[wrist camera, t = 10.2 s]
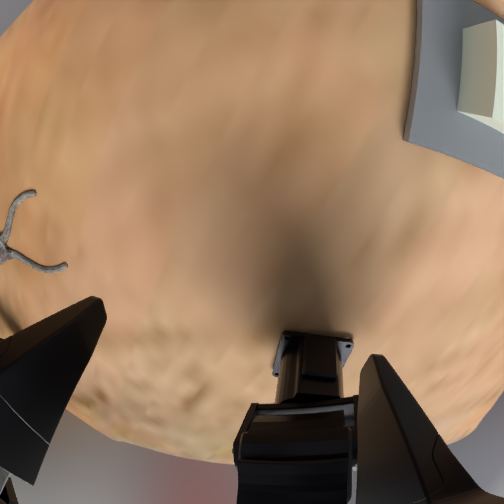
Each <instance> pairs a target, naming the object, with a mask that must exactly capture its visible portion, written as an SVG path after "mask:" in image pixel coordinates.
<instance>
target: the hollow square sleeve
mask: <svg viewBox="0 0 504 504" xmlns="http://www.w3.org/2000/svg"><path fill="white" fill-rule="evenodd" d="M457 111H458V112H460V113H463V114H465V115H467V116H469V117H471V118H474V119H476V120H478V121H480V122H482V123H484V124H486V125H488V126H490V127H492V128H494V129H496V130H498V131H500V132H501V133H503V134H504V24H502V23H501V22H499V21H497V20H492V21H488V22H485V23H481V24H478V25H474V26H471V27H468V28H464V29H463V45H462V67H461V80H460V90H459V99H458V107H457Z"/></svg>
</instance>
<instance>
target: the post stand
mask: <svg viewBox="0 0 504 504" xmlns="http://www.w3.org/2000/svg"><path fill="white" fill-rule="evenodd" d="M492 20H497V21H499V22H501V23H502V24H504V20H502V19H501V18H499V17H498V16H496V15H495V14H493V13H492V12H490V11H489V10H487V9H485V8H484V7H482V6H480V5H479V4H477V3H475V2H474V1H472V0H417V26H416V45H415V58H414V69H413V78H412V86H411V94H410V101H409V108H408V114H407V120H406V126H405V131H404V137H403V140H404V141H406V142H409V143H412V144H415V145H419V146H422V147H425V148H428V149H431V150H434V151H437V152H440V153H443V154H445V155H448V156H451V157H454V158H456V159H459V160H461V161H464V162H467V163H469V164H472V165H474V166H476V167H479V168H481V169H483V170H486V171H488V172H490V173H493V174H495V175H497V176H499V177H501V178H503V179H504V134H503V133H501V132H500V131H498V130H496V129H494V128H492V127H490V126H488V125H486V124H484V123H482V122H480V121H478V120H476V119H474V118H471V117H469V116H467V115H465V114H463V113H460V112H458V111H457V107H458V99H459V90H460V80H461V67H462V45H463V29H464V28H468V27H471V26H474V25H478V24H481V23H485V22H488V21H492Z"/></svg>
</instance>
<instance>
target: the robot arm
mask: <svg viewBox="0 0 504 504" xmlns="http://www.w3.org/2000/svg"><path fill="white" fill-rule="evenodd" d="M106 320H107V315H106V311H105V307H104V304H103V301H102V299H101V298H98V297H95V296H90V297H88V298H86V299H84V300H81V301H79V302H77V303H75V304H73V305H71V306H69V307H67V308H65V309H63V310H61V311H59V312H57V313H55V314H53V315H51V316H49V317H47V318H45V319H43V320H41V321H39V322H37V323H35V324H33V325H31V326H29V327H27V328H25V329H23V330H21V331H20V332H18V333H16V334H14V335H13V336H10V337H8V338H6V339H4V340H2V341H0V504H18V501H17V498H16V494H15V491H14V488H13V485H12V481H11V478H10V477H9V475H10V473H11V474H13V475H14V476H16V477H18V478H20V479H21V480H23V481H25V482H27V483H28V484H30V485H32V486H33V485H34V483H35V481H36V478H37V475H38V472H39V470H40V467H41V465H42V462H43V459H44V457H45V454H46V452H47V450H48V447H49V444H50V442H51V440H52V437H53V435H54V433H55V430H56V428H57V426H58V423H59V421H60V419H61V417H62V415H63V412H64V410H65V408H66V406H67V404H68V402H69V400H70V398H71V396H72V394H73V392H74V390H75V388H76V386H77V384H78V382H79V380H80V378H81V376H82V374H83V372H84V370H85V368H86V366H87V364H88V362H89V360H90V358H91V356H92V354H93V352H94V349H95V347H96V345H97V342H98V340H99V337H100V335H101V333H102V330H103V328H104V326H105V323H106ZM286 336H289V337H286ZM348 344H349V345H348ZM353 347H354V343H353V340H351V339H344V338H335V337H327V336H320V335H312V334H305V333H298V332H292V331H284V332H283V333H282V336H281V340H280V344H279V348H278V352H277V356H276V360H275V364H274V368H273V373H272V375H273V376H275V377H278V384H277V391H276V398H275V404H259V403H251V406H250V408H249V410H248V411H247V414H246V416H245V418H244V421H243V423H242V425H241V427H240V430H239V432H238V434H237V436H236V439H235V441H234V443H233V449H232V453H233V454H234V463H235V467H236V469H237V470H238V495H237V504H347V503H348V502H349V501H350V499H351V494H352V493H351V492H352V471H357V490H356V504H504V498H503V497H499V496H496V495H493V494H490V493H488V492H485V491H484V490H483V489H481V488H480V487H479V486H478V485H477V484H476V482H475V481H474V480H473V479H472V477H471V476H470V475H469V474H468V472H467V471H466V470H465V469H464V467H463V466H462V465H461V464H460V462H459V461H458V460H457V459H456V457H455V456H454V455H453V453H452V452H451V451H450V449H449V448H448V446H447V445H446V443H445V442H444V440H443V439H442V437H441V436H440V434H438V432H437V430H436V429H435V427H434V426H433V424H432V423H431V421H430V420H429V418H428V417H427V415H426V414H425V412H424V411H423V410H422V408H421V407H420V405H419V404H418V402H417V401H416V400H415V398H414V397H413V395H412V394H411V392H410V391H409V390H408V388H407V387H406V385H405V384H404V383H403V381H402V380H401V378H400V377H399V376H398V374H397V373H396V372H395V370H394V369H393V367H392V366H391V365H390V363H389V362H388V361H387V359H386V358H385V357H384V356H383V355H379V354H372V355H370V356H369V358H368V360H367V361H366V363H365V365H364V366H363V368H362V370H361V373H360V385H359V395H353V397H346V398H344V395H343V374H342V368H343V367H344V365H345V363H346V361H347V359H348V357H349V355H350V353H351V351H352V349H353Z"/></svg>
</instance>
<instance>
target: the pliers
mask: <svg viewBox="0 0 504 504" xmlns="http://www.w3.org/2000/svg"><path fill="white" fill-rule="evenodd" d="M36 194H37V192H36V191H28V192H25V193H23V194H21V195H20V196H19V197H17V198H16V199H15V200H14V202H13V203H12V205H11V207H10V210H9V213H8V217H7V221H6V225H5V229H4V231H3V233H2V234H1V235H0V264H3V263H4V262H5V261H6V260H9V259H18V260H20V261H22V262H23V263H25V264H27V265H29V266H30V267H32V268H34V269H36V270H38V271H41V272H45V273H57V272H61V271H63V270H65V269H66V268H67V267H68V264H67V263H64V264H61V265H60V266H56V267H45V266H41V265H39V264H37V263H35V262H33V261H32V260H30V259H28V258H27V257H25V256H24V255H22V254H21V253H19V252H17V251H15V250H13V249H9V248H8V246H7V244H6V243H7V241H8V239H9V236H10V232H11V227H12V221H13V217H14V213H15V210H16V208H17V206H18V205H19V204H20V203H21V202H22V201H23V200H24V199H26V198H29V197H34V196H36Z"/></svg>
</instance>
